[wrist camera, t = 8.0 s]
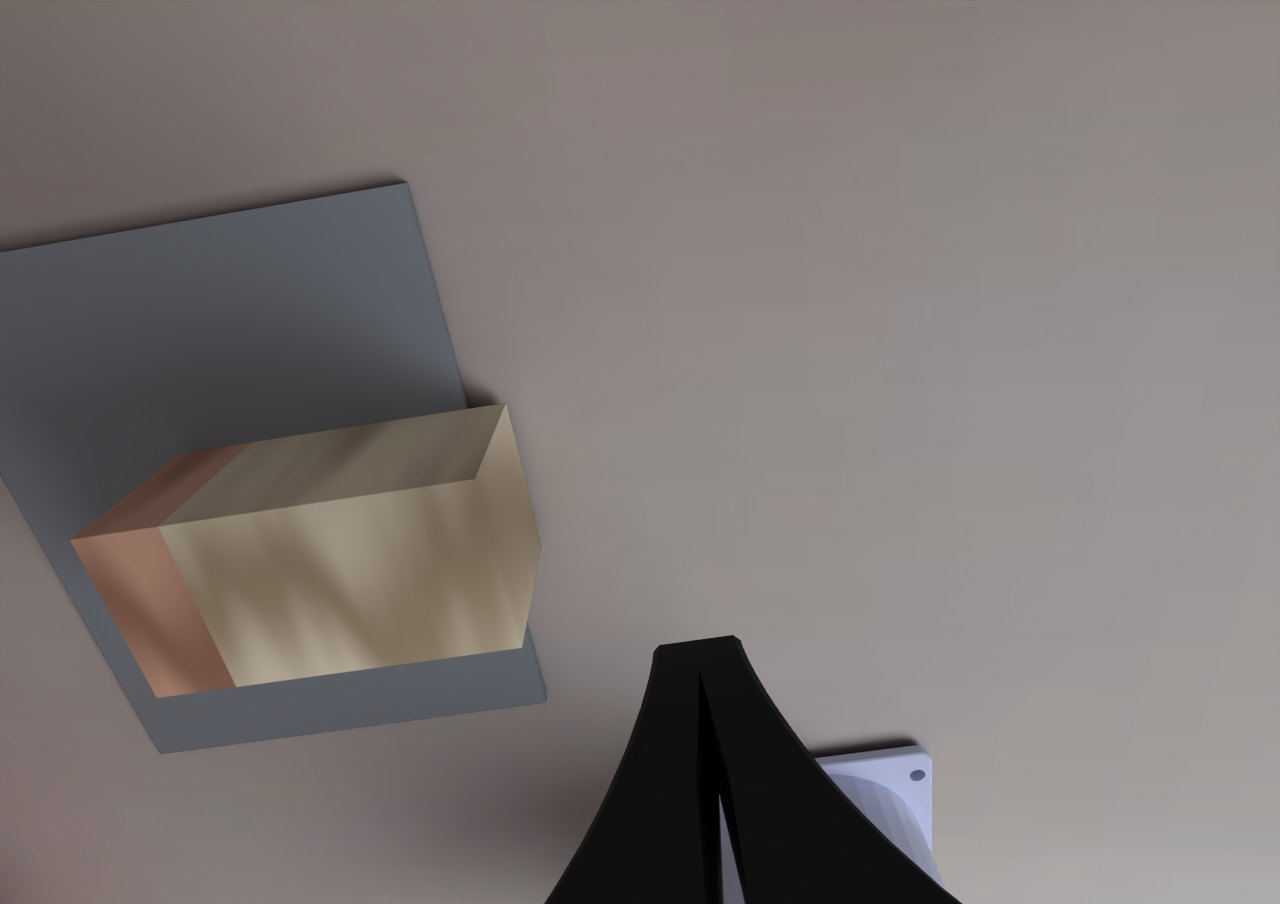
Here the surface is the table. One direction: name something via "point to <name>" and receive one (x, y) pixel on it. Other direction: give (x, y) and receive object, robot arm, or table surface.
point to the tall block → (322, 553)
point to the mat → (229, 413)
